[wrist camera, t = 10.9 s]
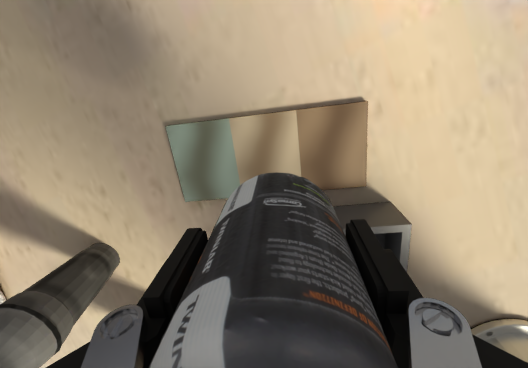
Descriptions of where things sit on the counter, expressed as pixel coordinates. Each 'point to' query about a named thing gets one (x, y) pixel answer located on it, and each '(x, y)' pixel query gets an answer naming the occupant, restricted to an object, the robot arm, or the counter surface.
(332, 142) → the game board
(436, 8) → the counter surface
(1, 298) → the cookie jar
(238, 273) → the pill bottle
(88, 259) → the beverage cup
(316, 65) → the counter surface
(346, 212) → the box
